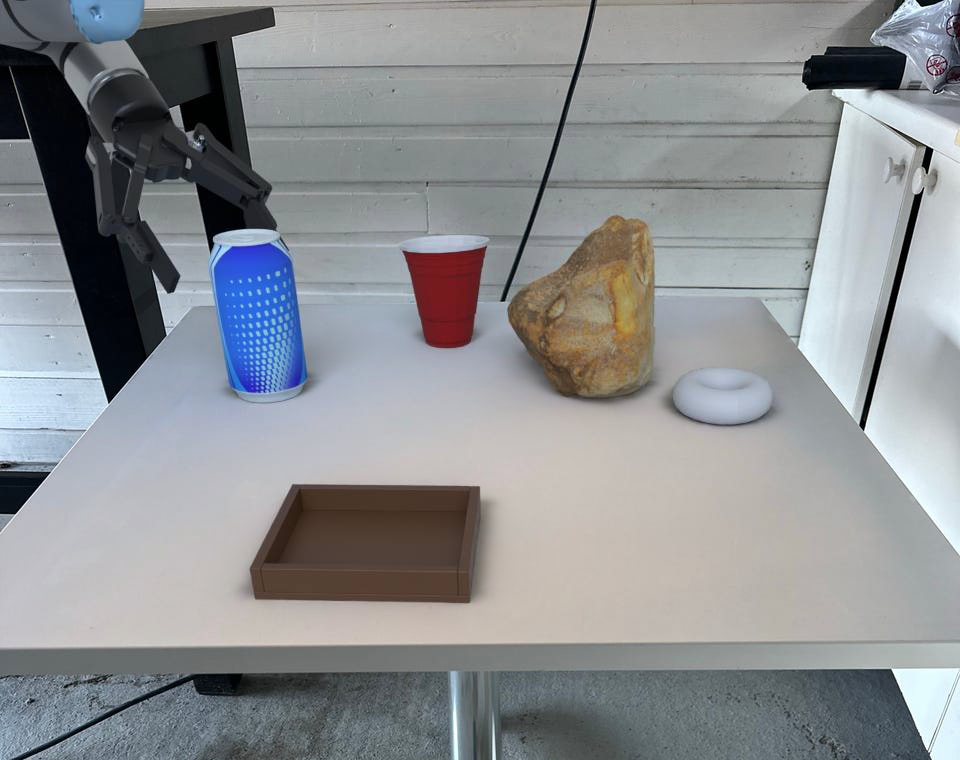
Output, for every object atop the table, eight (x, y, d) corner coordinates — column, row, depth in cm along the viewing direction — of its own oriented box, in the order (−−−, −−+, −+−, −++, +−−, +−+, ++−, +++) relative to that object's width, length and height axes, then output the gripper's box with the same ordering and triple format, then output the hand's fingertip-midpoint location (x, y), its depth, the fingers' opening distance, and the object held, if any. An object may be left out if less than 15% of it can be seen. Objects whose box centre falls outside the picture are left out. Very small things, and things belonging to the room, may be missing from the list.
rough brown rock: (531, 341, 116) (521, 214, 108) (664, 337, 112) (665, 204, 103) (488, 415, 98) (472, 270, 90) (645, 414, 94) (644, 261, 85)
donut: (730, 389, 100) (651, 402, 96) (735, 357, 98) (655, 369, 95) (790, 421, 92) (706, 436, 89) (797, 387, 90) (712, 401, 87)
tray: (254, 599, 67) (248, 568, 65) (296, 511, 78) (292, 483, 76) (469, 603, 66) (468, 571, 64) (480, 514, 77) (480, 485, 75)
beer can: (300, 374, 106) (280, 224, 96) (316, 398, 99) (296, 240, 90) (226, 384, 103) (198, 231, 94) (237, 410, 97) (208, 248, 88)
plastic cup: (475, 323, 120) (473, 224, 113) (503, 348, 112) (502, 243, 105) (394, 333, 118) (387, 232, 111) (417, 358, 109) (410, 251, 102)
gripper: (211, 114, 107) (310, 270, 107) (-1, 139, 92) (115, 320, 92) (230, 61, 101) (335, 226, 101) (7, 79, 86) (131, 273, 86)
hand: (230, 271), depth 97 cm, fingers open, 13 cm apart
